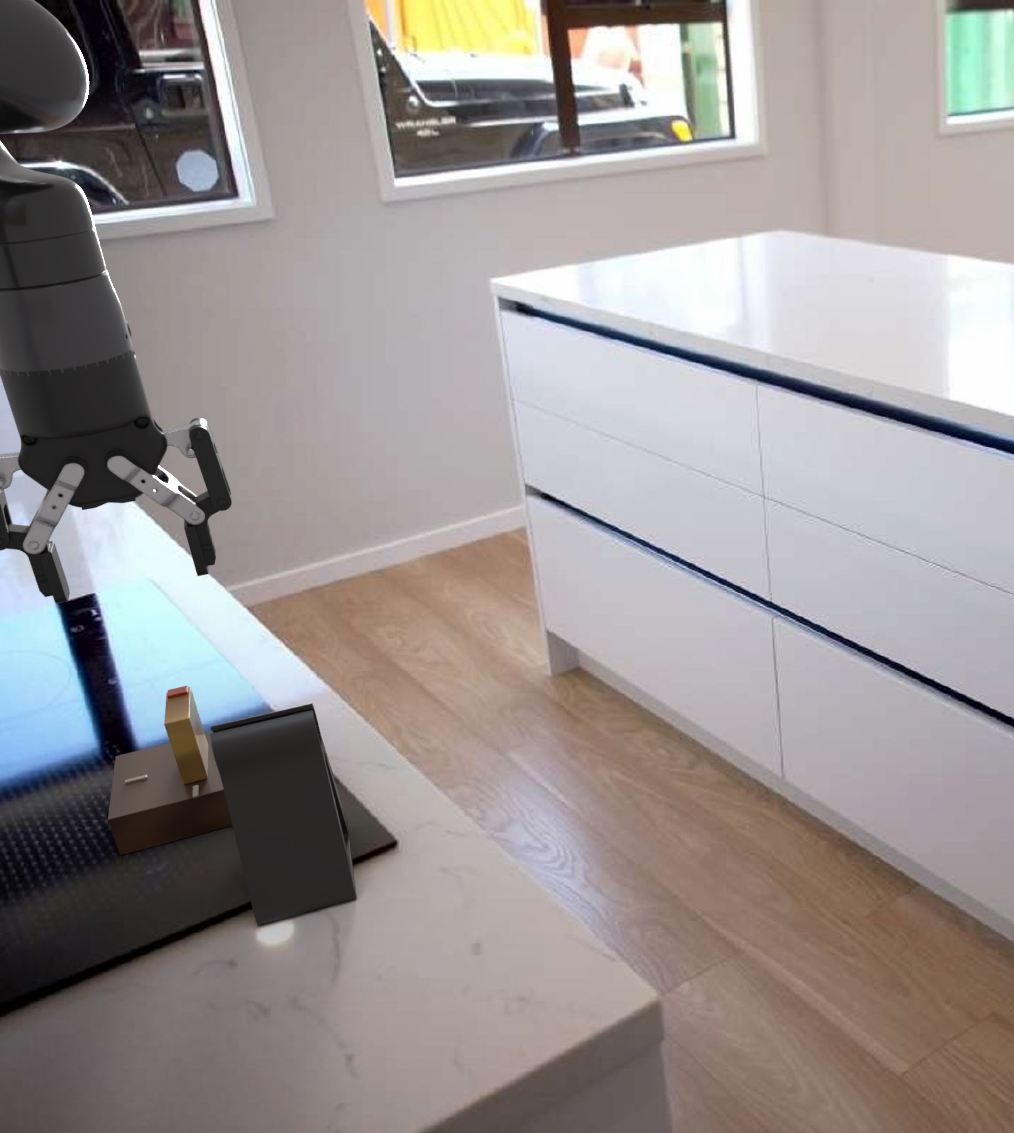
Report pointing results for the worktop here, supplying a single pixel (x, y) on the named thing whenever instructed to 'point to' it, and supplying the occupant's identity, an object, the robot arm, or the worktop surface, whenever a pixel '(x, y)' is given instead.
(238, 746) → the phone stand
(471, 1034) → the worktop surface
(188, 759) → the lock knob
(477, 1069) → the worktop surface
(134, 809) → the plate
